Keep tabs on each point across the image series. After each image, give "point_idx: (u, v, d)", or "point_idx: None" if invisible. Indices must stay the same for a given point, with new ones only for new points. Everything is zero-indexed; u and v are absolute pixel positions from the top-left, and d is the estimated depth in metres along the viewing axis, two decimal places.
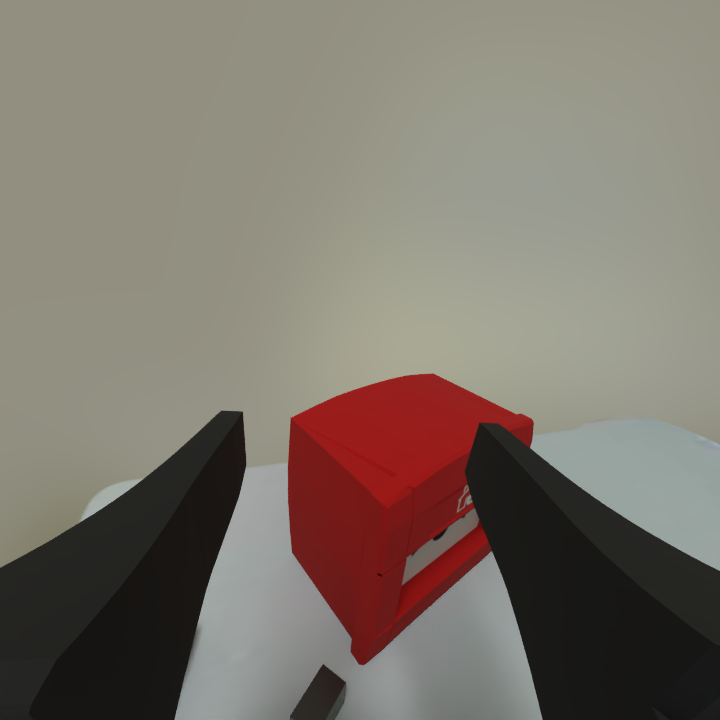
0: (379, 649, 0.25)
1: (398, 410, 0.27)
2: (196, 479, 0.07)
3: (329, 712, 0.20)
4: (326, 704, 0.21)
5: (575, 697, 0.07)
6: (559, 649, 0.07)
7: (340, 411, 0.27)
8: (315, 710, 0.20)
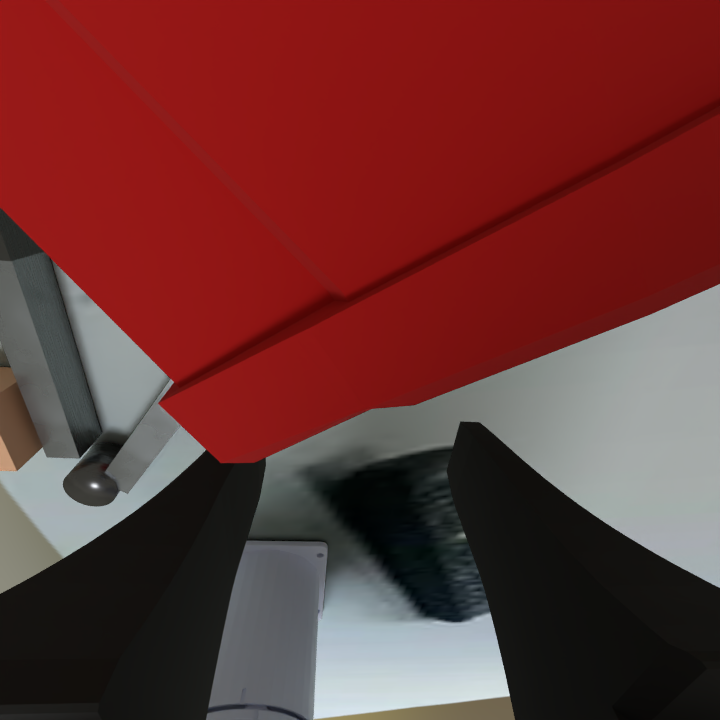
0: None
1: None
2: (226, 480, 0.07)
3: None
4: None
5: (545, 698, 0.07)
6: (530, 649, 0.07)
7: None
8: None
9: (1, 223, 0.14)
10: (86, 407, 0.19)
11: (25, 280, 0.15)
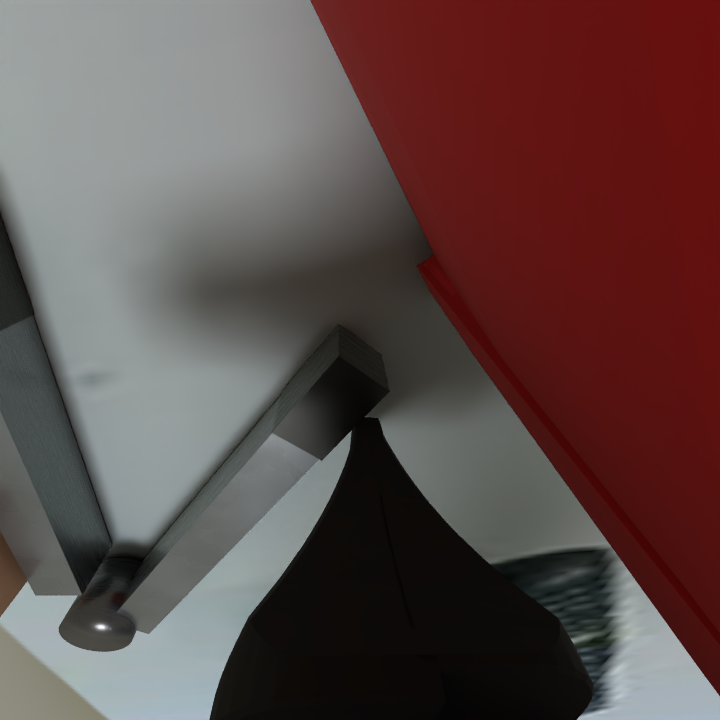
0: None
1: None
2: (386, 485, 0.08)
3: (350, 428, 0.10)
4: (344, 421, 0.10)
5: None
6: None
7: None
8: (322, 428, 0.10)
9: None
10: (91, 520, 0.14)
11: None
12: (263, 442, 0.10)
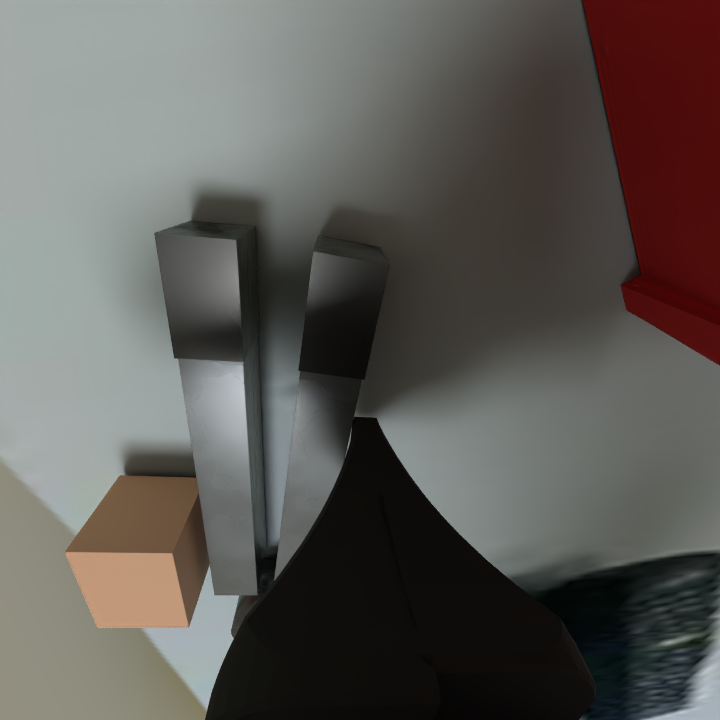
0: None
1: None
2: (384, 484, 0.08)
3: (374, 330, 0.09)
4: (361, 324, 0.09)
5: None
6: None
7: None
8: (344, 342, 0.09)
9: (241, 308, 0.09)
10: (262, 523, 0.14)
11: (247, 383, 0.10)
12: None
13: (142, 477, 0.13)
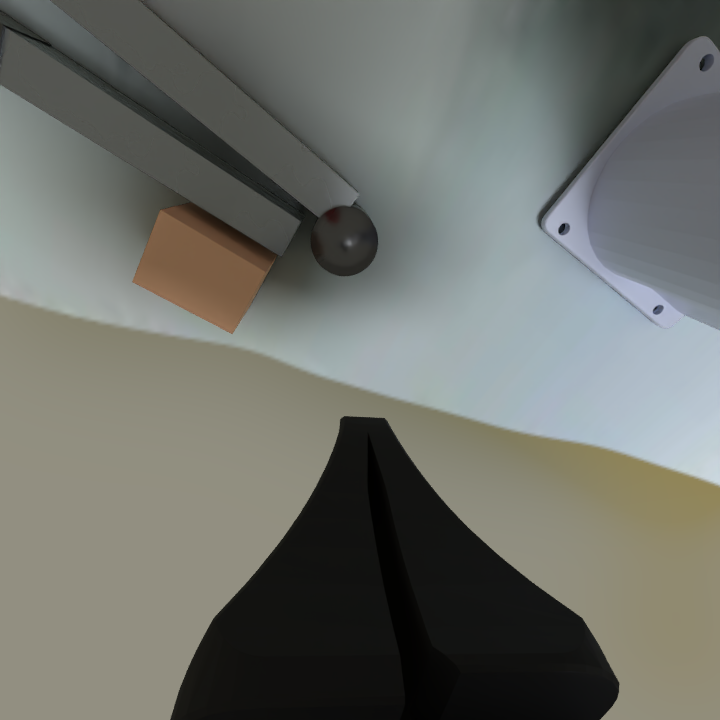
0: None
1: None
2: (367, 484, 0.08)
3: None
4: None
5: None
6: None
7: None
8: None
9: None
10: (257, 185, 0.15)
11: (44, 51, 0.12)
12: None
13: None
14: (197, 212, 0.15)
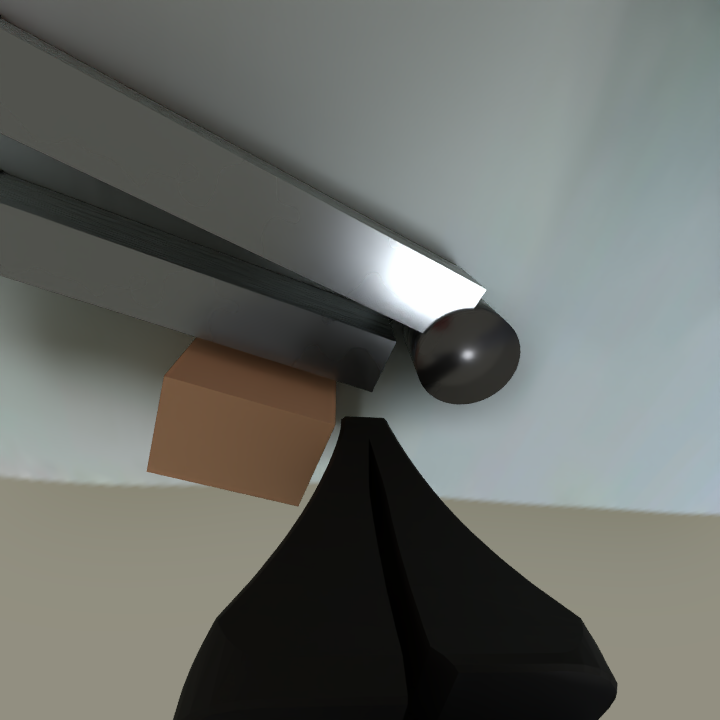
0: None
1: None
2: (368, 484, 0.08)
3: None
4: None
5: None
6: None
7: None
8: None
9: None
10: (317, 294, 0.10)
11: None
12: None
13: None
14: None
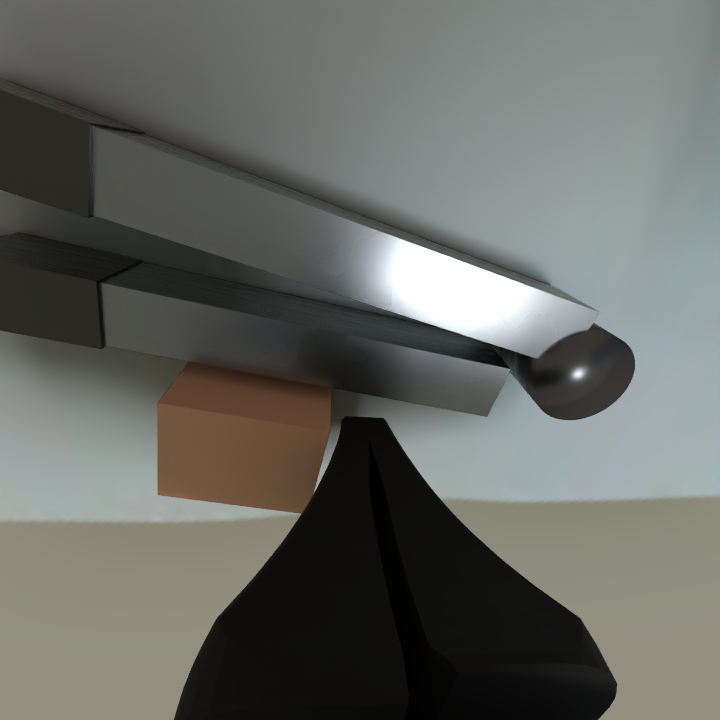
0: None
1: None
2: (369, 484, 0.08)
3: (7, 92, 0.06)
4: None
5: None
6: None
7: None
8: (31, 142, 0.07)
9: (32, 265, 0.08)
10: (423, 330, 0.11)
11: (147, 287, 0.09)
12: (122, 223, 0.07)
13: None
14: None
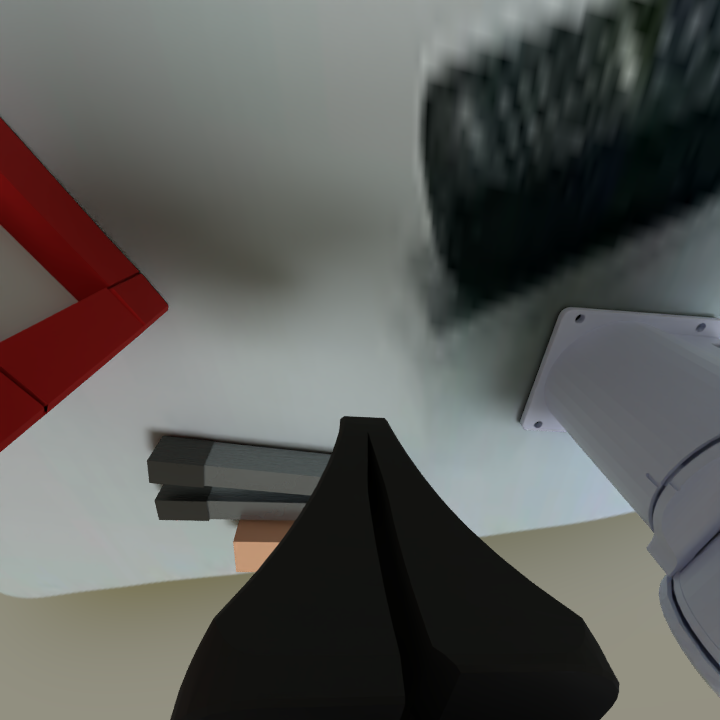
0: (146, 286, 0.17)
1: None
2: (367, 484, 0.08)
3: (178, 462, 0.20)
4: (175, 468, 0.21)
5: None
6: None
7: None
8: (186, 473, 0.21)
9: (183, 499, 0.22)
10: None
11: (223, 497, 0.23)
12: (214, 485, 0.22)
13: None
14: None
